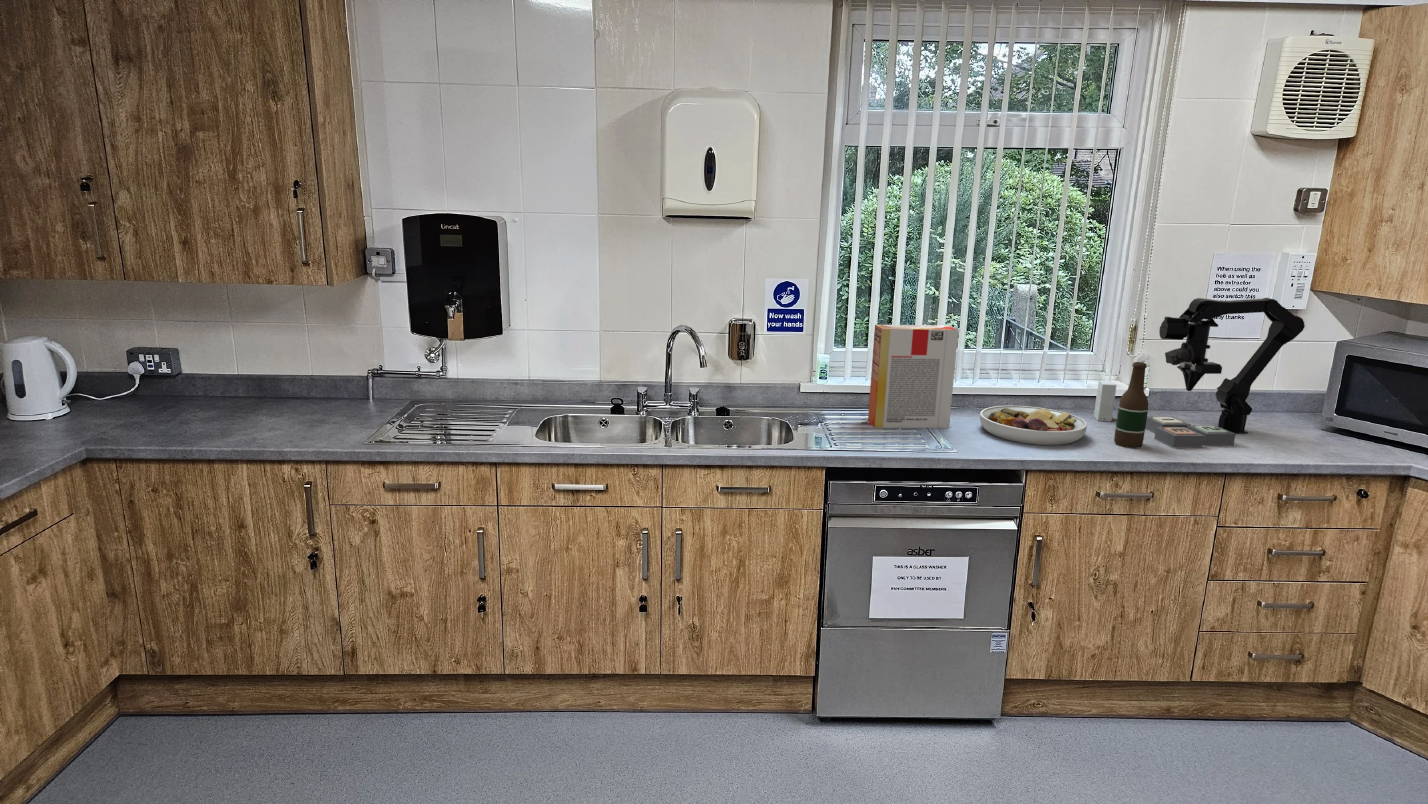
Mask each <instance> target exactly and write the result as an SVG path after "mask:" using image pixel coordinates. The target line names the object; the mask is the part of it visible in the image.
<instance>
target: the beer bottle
mask: <svg viewBox="0 0 1428 804" xmlns="http://www.w3.org/2000/svg"><path fill="white" fill-rule="evenodd" d="M1131 366H1132V371H1131V376H1130V381H1129V383H1128V388H1127V389H1126V391H1124V393H1123V394H1122V395H1121V397H1120V399H1119V403H1118V409H1117V415H1116V423H1115V429H1114V436H1113V437H1114V438H1113V441H1114V443H1115V445H1117V446H1119V447H1122V448H1130V449H1138V448H1142V447H1143V443H1144V438H1145V432H1146V429H1145V427H1146V420H1147V417H1148V413H1149V401H1148V400H1149V399H1148V397H1147V395H1146V393H1145V377H1146V369H1147V367H1148V366H1147V363H1145V362H1141V361H1135V362H1133V363H1132V365H1131Z"/></svg>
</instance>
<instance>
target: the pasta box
mask: <svg viewBox="0 0 1428 804" xmlns="http://www.w3.org/2000/svg"><path fill="white" fill-rule="evenodd" d="M958 338H959V329H958V328H955V327H953V326H951V325H943V324H942V325H941V324H940V325H939V324H938V325H936V324H935V325H933V324H931V325H930V324H928V325H927V324H926V325H925V324H874V332H873V346H872V359H871V360H872V361H871V374H870V375H871V376H870V385H869V387H870V389H869V398H868V399H869V402H868V403H869V404H868V413H867V415H868V416H867V421H868V422H869V423H870V424H871V425H872V427H874V428H881V429H882V428H884V429H885V428H887V429H888V428H889V429H890V428H891V429H893V428H899V429H900V428H904V429H906V428H907V429H910V428H911V429H913V428H914V429H915V428H916V429H919V428H920V429H950V422H951V421H950V419H951V410H952V402H953V401H952V399H953V390H954V379H955V369H956V360H957V359H956V358H957V346H958Z"/></svg>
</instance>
